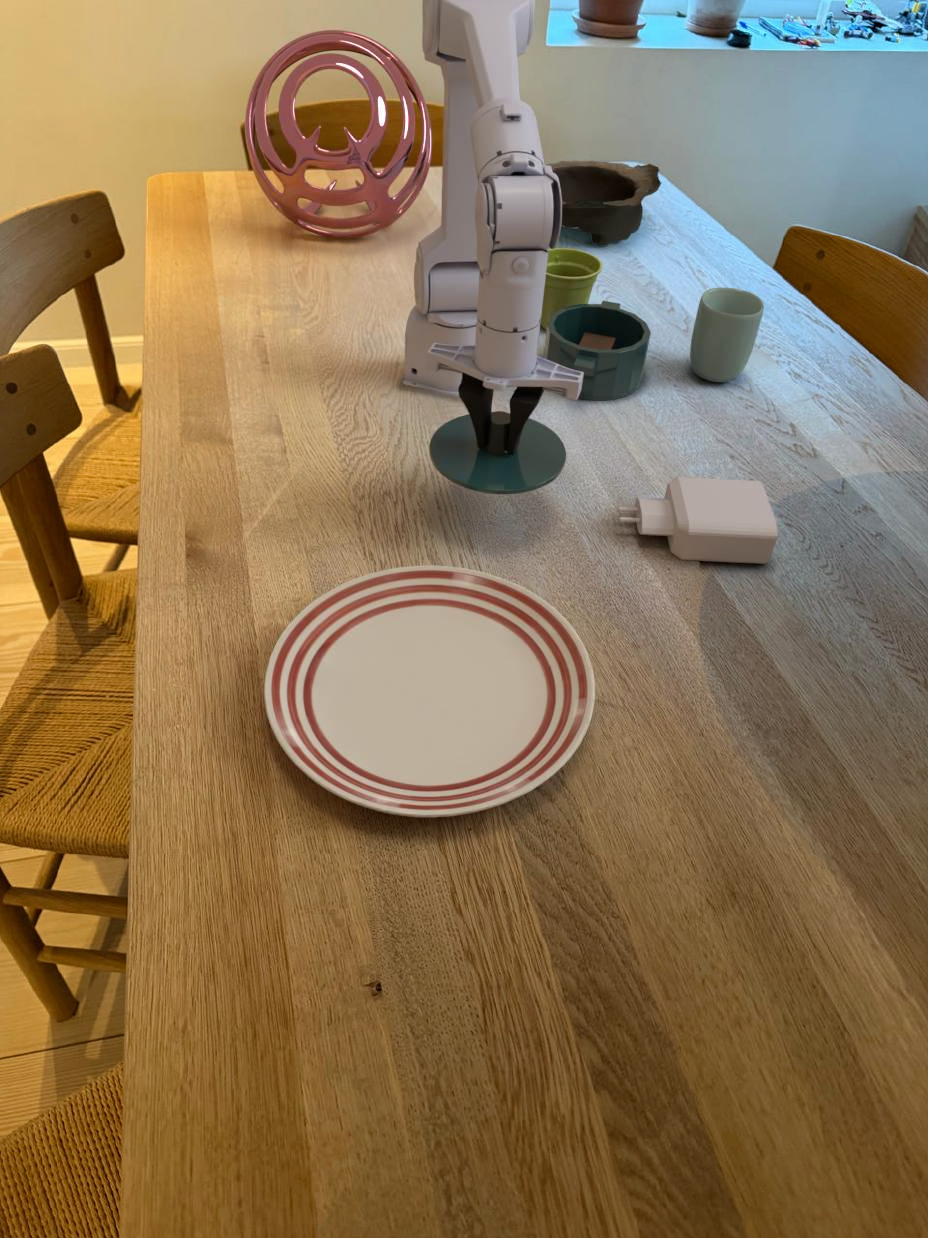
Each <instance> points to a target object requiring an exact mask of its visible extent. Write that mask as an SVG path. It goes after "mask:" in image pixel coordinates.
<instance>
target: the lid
mask: <svg viewBox="0 0 928 1238" xmlns="http://www.w3.org/2000/svg"><path fill="white" fill-rule="evenodd" d="M509 431H510V412H506V411H502V410H495V411H491V413H490V414H489V416H488V425H487V438H486V446H485V448H484V449H482V448H478V447H477V439H476V434H475V430H474V426H473V423H472V420H471V417H470V415H469V413H468V414H464V415H461V416H457V417H455V418H453V419H450V420H448V421H447V422H445V423H444V424H442V425H440V426H439V427H438V428H437V429H436V431H435V432H434V433H433V434H432V436H431V438H430V441H429V446H428V455H429V458H430V461H431V463H432V465H433V467H434V468H435V469H436V471H437V472H438V473H439V474H440V475H441V476H442V477H444V478H445V479H447V480H448V481H450V482H452V483H453V484H455V485H457V486H459V487H462V488H464V489H467V490H471V491H474V492H478V493H484V494H491V495H516V494H523V493H529V492H532V491H535V490H538V489H541V488H543V487H545V486H548V485H549V484H550V483H552V482H553V481H555V480H556V479H557V478H558V477H559V476H560V475H561V474H562V472H563V470H564V468H565V465H566V461H567V450H566V447H565V444H564V442H563V440H562V439H561V437H559V435H558V434H557V433H555V432H554V431H553V430H552V429H551V428H550V427H548V426H546V425H545V424H543V423H542V422H540V421H537V420H535V419H532V418H530V417H529V418H528V420H527V421H526V423H525V425H524V428H523V430H522V433H521V437H520V441H519V445H518V447H517V450H516V452H515V454H514V455H510V454H507V443H508V437H509Z"/></svg>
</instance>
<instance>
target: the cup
mask: <svg viewBox="0 0 928 1238" xmlns="http://www.w3.org/2000/svg"><path fill="white" fill-rule="evenodd" d="M764 309H765V306H764V301H763V300H762V299H761V298H760V297H759V296H757V295H756V294H754V293H752V292H750V291H747V290H743V289H739V288H735V287H713V288H710V289H706V291H704V292H703V293H702V295H701V297H700V299H699V302H698V306H697V310H696V314H695V315H696V316H695V319H694V324H693V329H692V334H691V340H690V349H689V359H690V365H691V369H692V370H693V372H694V373H695V375H697V376H698V377H699V378H701V379H703V380H705V381H708V382H712V383H727V382H731V381H733V380H735V379H736V378H738V377H739V376H740V375H741V374H742V373H743V371H744V370H745V368H746V366H747V364H748V362H749V359H750V357H751V354H752V352H753V349H754V346H755V343H756V339H757V336H758V334H759V329H760V326H761V322H762V318H763V315H764Z"/></svg>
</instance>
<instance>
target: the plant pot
mask: <svg viewBox="0 0 928 1238" xmlns="http://www.w3.org/2000/svg"><path fill="white" fill-rule="evenodd" d="M547 250H548V260H547V269H546V278H545V287H544V296H543V305H542V314H541V322H540V326H541V327H542V328H543V329H544V330H546V328H547V322H548V320H549V318H550V317H551V315H552V314H553V313H555V312H556V311H558V310H560V309H562V308H563V307H568V306H573V305H577V304H589V301H590V297H591V293H592V290H593V287H594V283H595V282H596V281H597V278H598V275H599V274H600V273H601V272H602V270H603V262H602V261H601V259H600V258H599V257H597V256H595V255H594V254H593V253H590V252H587V251H584V250H580V249H576V248H567V247H555V249H551V248H547Z"/></svg>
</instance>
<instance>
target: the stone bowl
mask: <svg viewBox="0 0 928 1238" xmlns="http://www.w3.org/2000/svg"><path fill="white" fill-rule="evenodd" d="M544 164H545V165H550V166H551V168H552V172H553V173H555V174H556V175H557V177H558V179H559V183H560V189H561V196H562V223H561V227H563V228H565V229H579V230H580V231H581V232H582V233H584V234H590V239H591V242H592V243H593V244H594V245H597V246H601V247H606V246H609V245H610V244H616V243H618V242H621V241H624V240H625V241H626V240H627V239H629V238H630V237H631V235H632V234H635V233H636V232H638V230H639V228H640V226H641V225H642V219H643V213H644V207H643V204H642V202H643V200H644V198H645V197H649V196H651V195H653V194H654V193H656V192H657V191H658V190H659V188H660V187H661V185H662V181H661V180H660V178H659V177H660V175H659V172H660V168H659V167H658V166H657V165H653V164H651V163H647V164H644V165H640V164H636V165H635V166H630V165H629V164H626V163H622V162H610V161H599V160H572V161H571V160H570V161H569V160H562V161H558V162H550V163H544Z"/></svg>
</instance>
